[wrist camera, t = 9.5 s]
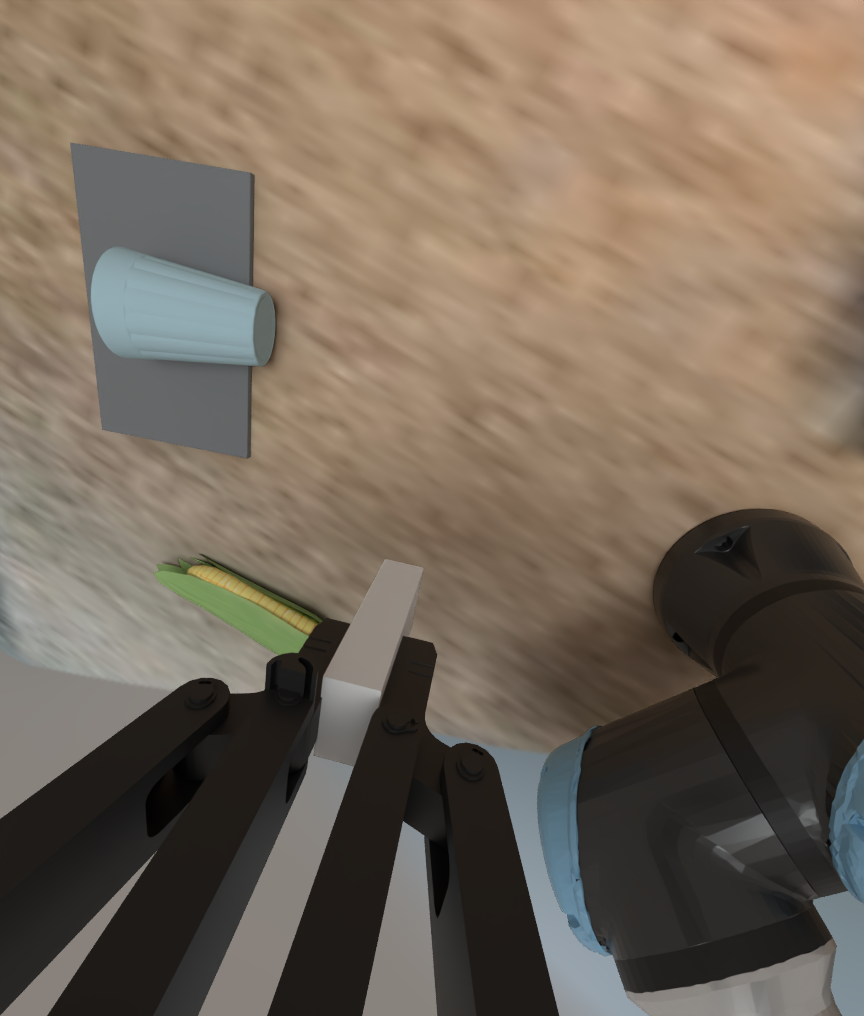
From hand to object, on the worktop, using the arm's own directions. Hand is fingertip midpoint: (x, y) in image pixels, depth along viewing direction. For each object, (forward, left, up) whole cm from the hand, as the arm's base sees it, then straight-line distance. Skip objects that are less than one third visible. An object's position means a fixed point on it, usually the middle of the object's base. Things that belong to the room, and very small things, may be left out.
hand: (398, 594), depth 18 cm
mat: (+25, -6, -24) cm, 35 cm away
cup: (+15, -7, -21) cm, 27 cm away
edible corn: (+17, +20, -25) cm, 36 cm away
